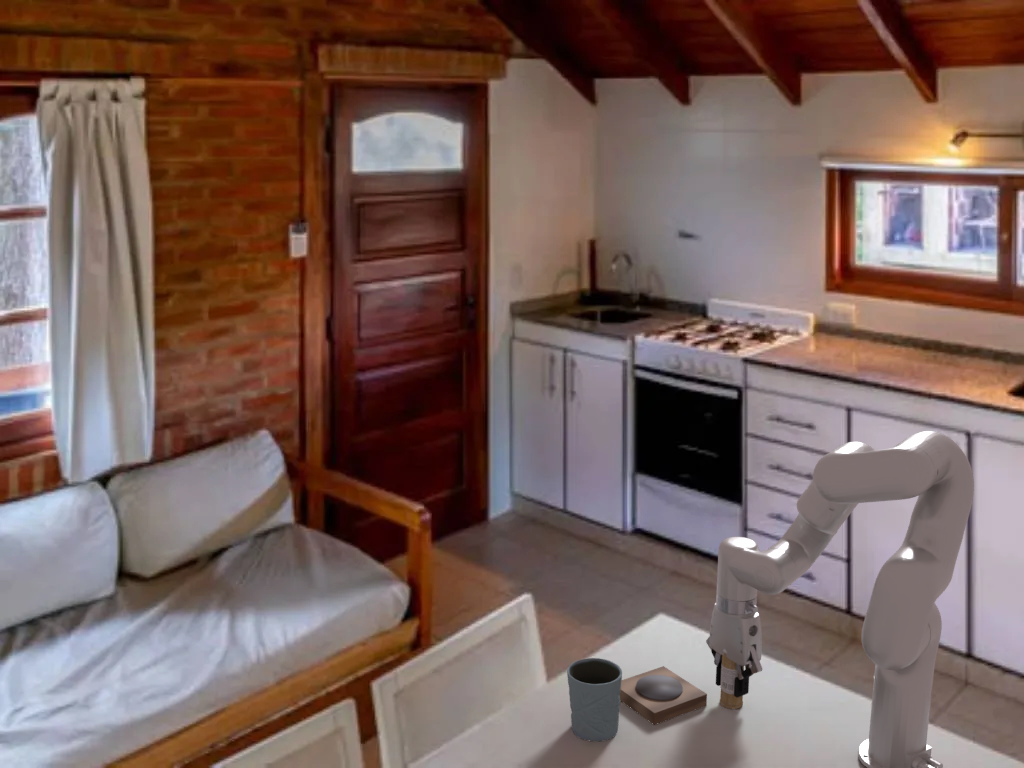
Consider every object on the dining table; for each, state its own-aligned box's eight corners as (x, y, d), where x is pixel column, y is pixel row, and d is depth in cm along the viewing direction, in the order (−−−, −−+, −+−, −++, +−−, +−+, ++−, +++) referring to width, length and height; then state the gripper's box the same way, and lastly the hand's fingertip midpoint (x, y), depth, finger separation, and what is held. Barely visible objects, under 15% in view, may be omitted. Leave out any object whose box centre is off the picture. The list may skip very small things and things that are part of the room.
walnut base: (706, 705, 210) (707, 691, 210) (654, 725, 204) (654, 710, 203) (663, 677, 221) (663, 663, 220) (612, 694, 214) (612, 681, 214)
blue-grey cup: (617, 746, 197) (619, 687, 194) (562, 740, 199) (563, 681, 196) (623, 717, 206) (624, 660, 203) (570, 711, 208) (571, 654, 205)
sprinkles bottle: (747, 705, 210) (751, 642, 207) (730, 712, 208) (734, 648, 205) (730, 695, 214) (734, 632, 211) (714, 702, 212) (716, 639, 208)
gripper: (783, 614, 201) (777, 703, 205) (720, 582, 215) (716, 666, 219) (753, 623, 197) (748, 714, 201) (691, 590, 211) (688, 676, 215)
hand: (731, 688), depth 210 cm, fingers closed on sprinkles bottle, 4 cm apart
